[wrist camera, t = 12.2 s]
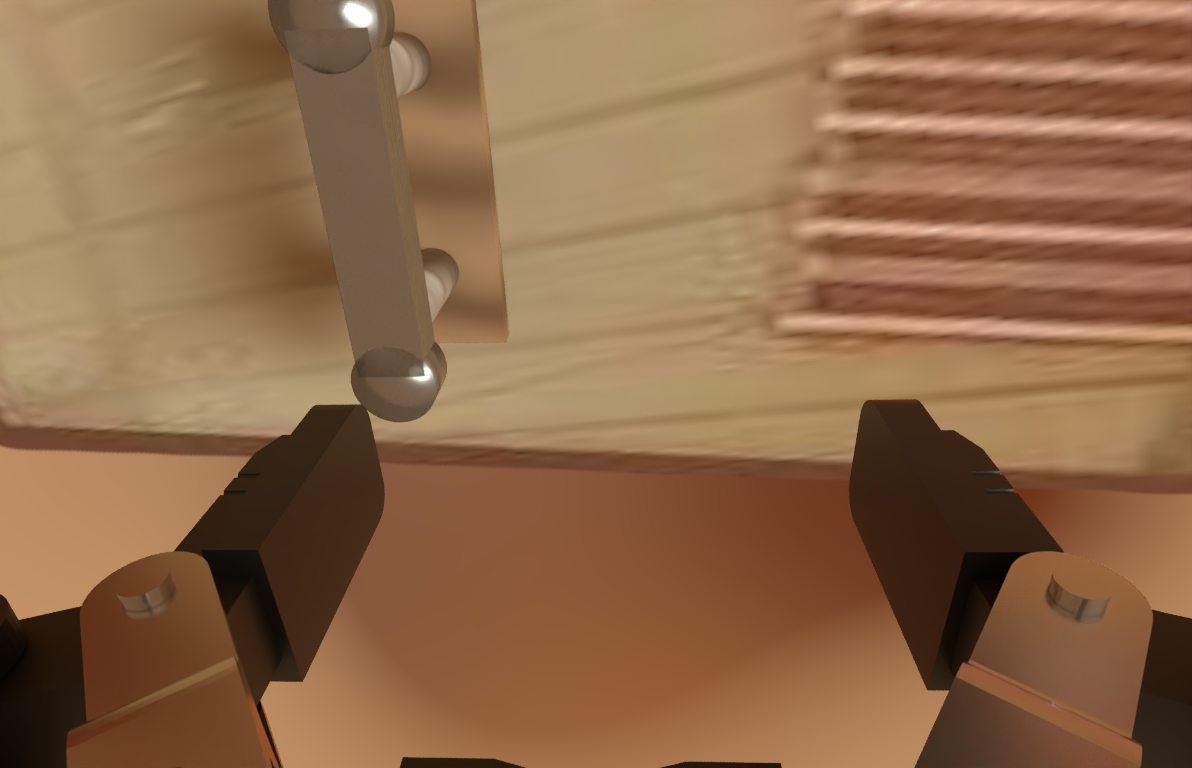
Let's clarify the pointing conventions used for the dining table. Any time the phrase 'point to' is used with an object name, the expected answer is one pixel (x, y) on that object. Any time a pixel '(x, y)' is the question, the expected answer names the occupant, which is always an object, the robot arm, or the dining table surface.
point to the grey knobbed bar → (365, 196)
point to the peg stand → (450, 167)
